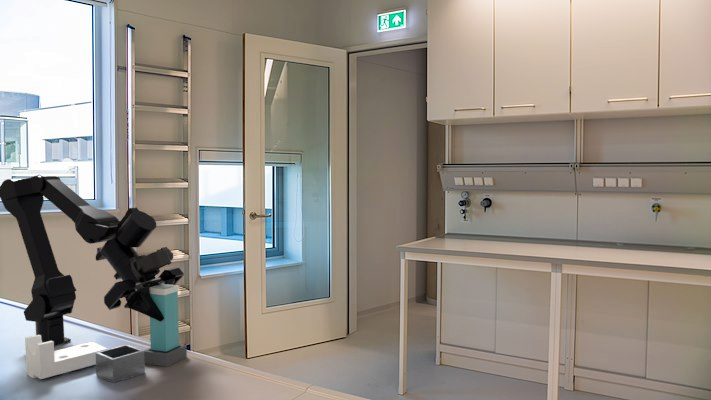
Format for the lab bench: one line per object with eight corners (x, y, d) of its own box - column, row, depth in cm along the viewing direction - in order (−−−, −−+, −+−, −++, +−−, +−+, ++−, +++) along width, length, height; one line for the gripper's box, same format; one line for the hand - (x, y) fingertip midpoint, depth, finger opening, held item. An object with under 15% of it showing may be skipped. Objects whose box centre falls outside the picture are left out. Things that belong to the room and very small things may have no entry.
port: (96, 375, 111) (95, 352, 111) (127, 365, 116) (126, 344, 116) (113, 383, 107) (112, 359, 106) (144, 373, 112) (144, 350, 111)
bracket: (40, 384, 107) (39, 344, 107) (26, 375, 112) (25, 337, 112) (108, 365, 117) (107, 329, 117) (92, 358, 122) (91, 323, 121)
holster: (143, 362, 118) (142, 351, 117) (163, 353, 123) (163, 342, 123) (167, 366, 115) (166, 354, 115) (186, 356, 121) (186, 345, 121)
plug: (150, 349, 118) (148, 287, 117) (163, 343, 122) (162, 283, 121) (166, 351, 116) (164, 289, 116) (179, 345, 120) (178, 285, 119)
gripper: (113, 242, 110) (160, 303, 107) (176, 231, 128) (218, 283, 124) (83, 279, 114) (128, 339, 110) (149, 264, 131) (189, 315, 128)
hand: (169, 317), depth 118 cm, fingers closed on plug, 4 cm apart
